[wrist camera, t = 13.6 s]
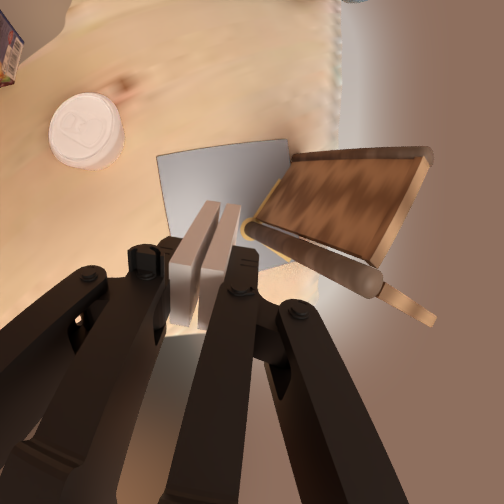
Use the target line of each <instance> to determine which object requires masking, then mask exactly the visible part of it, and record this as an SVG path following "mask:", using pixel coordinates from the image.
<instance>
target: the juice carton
mask: <svg viewBox="0 0 504 504" xmlns="http://www.w3.org/2000/svg"><path fill="white" fill-rule="evenodd" d="M23 45H24V41H23V40H22V39H21V37H20V36H19V35H18V33H17V32H16V31H15V29H14V28H13V26H12V25H11V24H10V22H9V21H8V20H7V18H6V17H5V16H4V14H3V13H2V11H1V10H0V88H1V87H4V86H8V85H12V84H14V83H15V78H16V73H17V68H18V64H19V60H20V56H21V52H22V48H23Z"/></svg>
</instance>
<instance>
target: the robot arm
mask: <svg viewBox="0 0 504 504" xmlns="http://www.w3.org/2000/svg"><path fill="white" fill-rule="evenodd" d="M342 1H344V2H346V3H360V2H364V1H367V0H342ZM220 204H221V202H216V201H209V200H206V202H205V203H204V205H203V207H202V208H201V210H200V211H199V213H198V215H197V216H196V218H195V219H194V221H193V223H192V224H191V226H190V228H189V229H188V231H187V233H186V234H185V236H184V237H183V238H178V237H172V236H168V237H166V238H164V239H163V240H161V241H160V242H159V244H158V245H157V246H156V245H152V244H141V245H136V246H134V247H131V248H130V249H129V250H128V265H129V272H128V273H127V275H126V276H125V277H120V278H107V273H106V271H105V269H103V268H102V267H99V266H95V265H92V266H91V265H89V266H85V267H81V268H80V269H78V270H76V271H75V272H73V273H72V274H70V275H69V276H68V277H66V278H65V279H64V280H62V281H61V282H60V283H58V284H57V285H56V286H54V287H53V288H52V289H50V290H49V291H48V292H46V293H45V294H44V295H43V296H41V297H40V298H39V299H37V300H36V301H35V302H34V303H32V304H31V305H30V306H29V307H27V308H26V309H25V310H24V311H22V312H21V313H20V314H19V315H18V316H16V317H15V318H14V319H13V320H12V321H10V322H9V323H8V324H7V325H6V326H5V327H3V328H2V329H1V330H0V469H1V468H2V467H3V466H4V465H5V466H4V468H3V471H2V473H1V476H0V504H117V499H116V490H117V486H118V482H119V478H120V474H121V471H122V467H123V464H124V460H125V456H126V453H127V450H128V446H129V443H130V440H131V436H132V433H133V430H134V426H135V423H136V420H137V417H138V414H139V410H140V407H141V404H142V401H143V398H144V395H145V392H146V389H147V386H148V382H149V380H150V377H151V374H152V371H153V368H154V365H155V362H156V359H157V357H158V354H159V351H160V348H161V345H162V342H163V340H164V337H165V334H166V321H167V318H168V316H169V314H170V323H171V324H176V325H181V326H186V327H189V325H190V322H191V319H192V316H193V313H194V310H195V307H196V304H197V301H198V298H199V310H198V329H202V330H207V332H206V336H205V340H204V343H203V347H202V350H201V354H200V358H199V361H198V365H197V368H196V372H195V376H194V379H193V383H192V387H191V390H190V394H189V398H188V402H187V405H186V409H185V413H184V417H183V421H182V425H181V429H180V432H179V437H178V441H177V444H176V449H175V452H174V456H173V460H172V464H171V468H170V472H169V477H168V481H167V484H166V488H165V491H164V493H163V494H162V496H161V497H160V499H159V502H158V504H238V496H239V488H240V478H241V469H242V460H243V450H244V441H245V431H246V422H247V411H248V402H249V392H250V381H251V371H252V361H253V357H254V358H256V359H259V360H262V361H264V367H265V370H266V374H267V378H268V382H269V385H270V389H271V393H272V397H273V401H274V405H275V408H276V412H277V416H278V420H279V423H280V427H281V431H282V434H283V438H284V441H285V445H286V449H287V453H288V456H289V460H290V463H291V467H292V471H293V474H294V477H295V481H296V485H297V488H298V492H299V496H300V499H301V502H302V504H409V503H408V500H407V498H406V496H405V493H404V491H403V489H402V486H401V484H400V482H399V479H398V477H397V475H396V473H395V470H394V468H393V466H392V464H391V461H390V459H389V457H388V455H387V452H386V450H385V448H384V446H383V444H382V442H381V439H380V437H379V435H378V433H377V431H376V429H375V426H374V424H373V422H372V420H371V418H370V416H369V414H368V412H367V410H366V407H365V405H364V403H363V401H362V399H361V397H360V395H359V393H358V391H357V389H356V387H355V385H354V383H353V381H352V378H351V376H350V374H349V372H348V370H347V368H346V366H345V364H344V362H343V360H342V358H341V356H340V354H339V352H338V350H337V348H336V347H335V344H334V342H333V341H332V338H331V336H330V334H329V332H328V330H327V328H326V327H325V325H324V322H323V321H322V319H321V317H320V315H319V313H318V311H317V310H316V309H315V307H314V306H312V305H311V304H309V303H308V302H305V301H303V300H298V299H289V300H285V301H284V302H282V303H281V304H280V306H278V305H276V304H273V303H271V302H269V301H267V300H265V299H264V298H263V297H262V296H261V295H260V294H259V292H258V288H257V286H258V270H259V254H258V252H257V251H256V249H254V248H248V247H241V246H236V239H237V232H238V225H239V218H240V211H241V205H236V204H229V203H227V204H226V207H225V209H224V212H223V214H222V216H221V219H220V221H219V212H220ZM218 221H219V224H218ZM79 315H80V316H81V321H80V322H78V323H77V324H76V322H75V319H76V318H77V317H78V316H79ZM42 417H43V418H42ZM41 418H42V420H41V422H40V424H39V426H38V428H37V431H36V433H35V435H34V436H33V438H31V439H30V440H27V441H23V440H24V439H25V438H26V437H27V435H28V434H29V433H30V431H31V430H32V429H33V428H34V427H35V425H36V424H37V423H38V422H39V420H40V419H41Z"/></svg>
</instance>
